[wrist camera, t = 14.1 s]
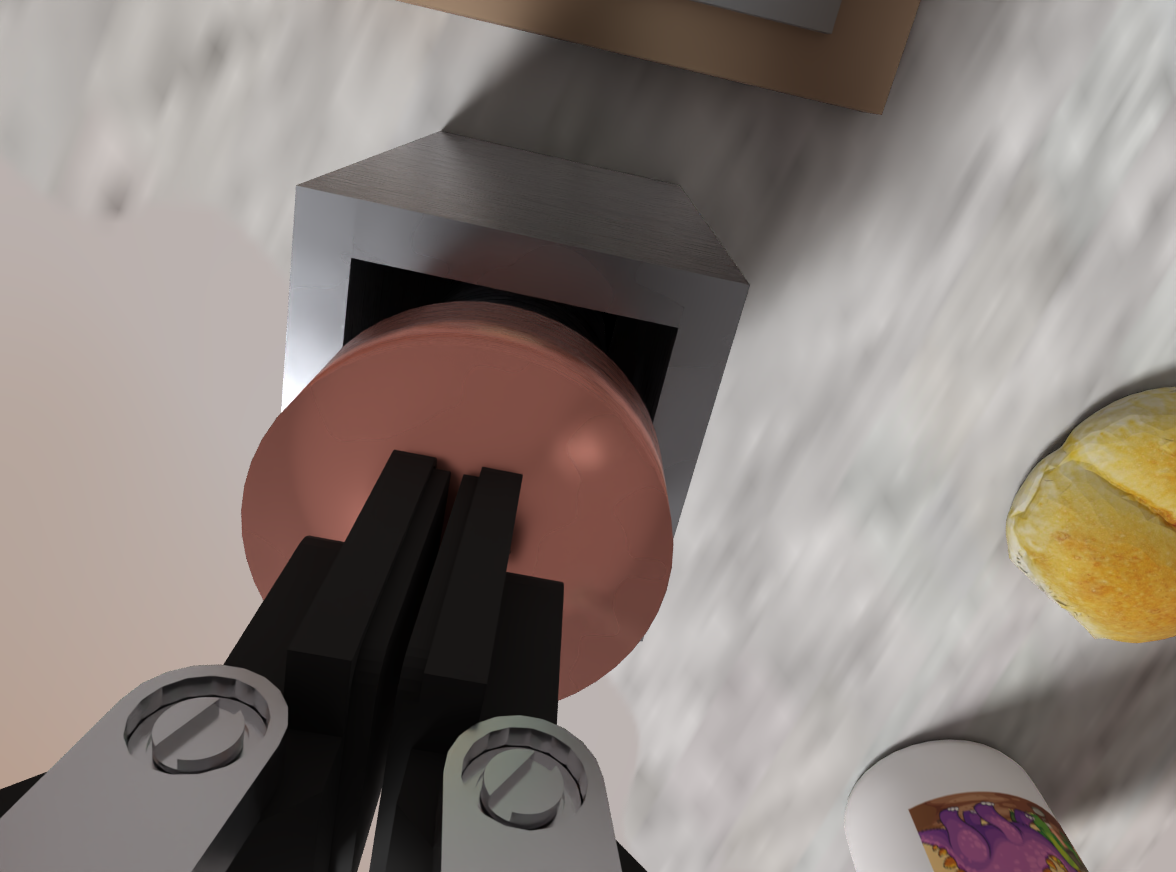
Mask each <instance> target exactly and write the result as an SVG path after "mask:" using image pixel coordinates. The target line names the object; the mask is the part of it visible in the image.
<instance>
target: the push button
mask: <svg viewBox="0 0 1176 872" xmlns="http://www.w3.org/2000/svg"><path fill="white" fill-rule="evenodd" d="M393 450H400V451H405V452H410V453H415V454H420V455H425V456H431V457H436V458H437V468H436V469H440V470H445V471H450V472H451V477H450V485H449V491H448V497H447V503H446V509H445V515H444V521H443V527H442V533H441V539H440V545H441V542H442V539H443V536H444V533H445V530H446V527H447V524H448V520H449V517H450V514H451V511H452V508H453V505H454V502H455V499H456V496H457V493H458V490H459V486H460V483H461V480H462V477H463V474H466V475H471V476H476V477H479V476H480V472H481V469H482V467H487V468H492V469H498V470H503V471H508V472H513V473H518V474H523V478H522V484H521V490H520V496H519V501H518V507H517V513H516V519H515V524H514V530H513V536H512V542H511V547H510V553H509V559H508V565H507V571H506V572H511V573H517V574H522V575H527V576H533V577H538V578H544V579H549V580H555V581H560V582H563V583H564V601H563V619H562V638H561V656H560V674H559V693H558V701H559V700H561V699H564V698H566V697H568V696H570V695H573V694H575V693H577V692H579V691H581V690H582V689H584V688H586V687H587V686H589V685H591V684H593V683H594V682H596V681H597V680H599V679H600V678H602V677H603V676H604V675H606V674H607V673H608V672H610V671H611V670H612V669H614V668H615V667H616V666H617V665H618V664H619V663H620V662H621V661H622V660H623V659H624V658H625V657H626V656H627V655H628V654H629V653H630V652H631V651H632V650H633V649H634V648H635V646H636V645H637V644H638V643H639V641H640V640H641V639H642V637H643V636H644V635H645V634H646V632H647V631H648V629H649V627H650V625H651V624H652V622H653V620H654V618H655V617H656V615H657V613H658V611H659V608H660V606H661V603H662V601H663V598H664V596H665V593H666V590H667V586H668V582H669V577H670V573H671V568H672V556H673V533H672V521H671V514H670V508H669V502H668V495H667V489H666V483H665V477H664V471H663V464H662V458H661V452H660V448H659V444H658V439H657V435H656V431H655V428H654V425H653V423H652V420H651V418H650V415H649V413H648V410H647V408H646V406H645V405H644V403H643V401H642V399H641V397H640V396H639V394H638V392H637V390H636V389H635V387H634V386H633V385H632V383H631V382H630V381H629V379H628V378H627V377H626V375H625V374H624V373H623V372H622V370H621V369H620V368H619V367H618V366H617V365H616V364H615V363H614V362H613V361H612V360H611V359H610V358H609V357H608V356H607V355H606V333H605V326H604V322H603V318H602V314H601V312H600V311H598V310H593V309H588V308H584V307H579V306H574V305H570V304H565V303H560V302H556V301H551V300H546V299H542V298H537V297H532V296H528V295H523V294H518V293H514V292H509V291H504V290H500V289H495V288H490V287H485V286H481V285H476V284H471V283H467V282H462V281H457V280H455V281H454V282H453V283H452V284H451V286H450V287H449V288H448V290H447V291H446V292H445V294H444V295H443V297H442V298H441V300H440V301H439V303H436V304H430V305H426V306H422V307H418V308H414V309H410V310H406V311H404V312H401V313H399V314H396V315H394V316H391V317H389V318H386V319H384V320H382V321H380V322H378V323H377V324H375V325H373V326H371V327H370V328H368V329H366V330H364V331H363V332H361V333H360V334H359V335H357V336H356V337H355V338H354V339H352V340H351V341H350V342H348V343H347V344H346V345H345V346H343V347H342V348H341V349H340V351H339V352H338V353H337V354H336V355H335V356H334V357H333V358H332V359H331V360H330V361H329V362H328V363H327V364H326V365H325V366H324V367H323V369H322V370H321V371H320V372H319V373H318V374H317V375H316V376H315V377H314V378H313V379H312V380H311V381H310V382H309V384H308V385H307V386H306V387H305V388H304V389H303V390H302V391H301V392H300V393H299V394H298V395H297V396H296V398H295V399H294V400H293V401H292V402H291V403H290V404H289V405H288V406H287V407H286V408H285V409H284V410H283V412H282V413H281V414H280V415H279V416H278V417H277V418H276V420H275V421H274V423H273V424H272V425H271V427H270V428H269V430H268V431H267V433H266V434H265V436H264V437H263V439H262V440H261V443H260V445H259V447H258V449H257V451H256V453H255V455H254V457H253V459H252V461H251V465H250V468H249V471H248V475H247V478H246V482H245V485H244V493H243V500H242V509H241V515H242V516H241V517H242V537H243V542H244V548H245V554H246V559H247V562H248V564H249V568H250V571H251V573H252V576H253V579H254V582H255V584H256V586H257V588H258V590H259V592H260V594H261V596H262V598H263V600H264V599H265V598H266V596H267V594H268V593H269V591H270V590H271V588H272V586H273V585H274V583H275V582H276V580H277V578H278V577H279V575H280V574H281V572H282V570H283V569H284V567H285V566H286V564H287V562H288V561H289V559H290V558H291V556H292V554H293V553H294V551H295V550H296V548H297V547H298V545H299V543H300V542H301V541H302V540H303V538H304V537H305V536H309V535H310V536H315V537H321V538H326V539H332V540H337V541H342V542H345V540H346V538H347V536H348V534H349V532H350V531H351V529H352V527H353V525H354V523H355V521H356V519H357V517H358V516H359V514H360V512H361V510H362V508H363V506H364V504H365V502H366V500H367V499H368V497H369V495H370V493H371V491H372V489H373V487H374V485H375V484H376V482H377V480H378V478H379V476H380V474H381V472H382V470H383V469H384V467H385V465H386V463H387V461H388V459H389V457H390V455H391V453H392V452H393ZM440 545H439V548H440Z"/></svg>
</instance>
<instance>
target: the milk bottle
mask: <svg viewBox="0 0 1176 872" xmlns="http://www.w3.org/2000/svg"><path fill="white" fill-rule="evenodd" d="M844 830H845V835H846V838H847V842H848V846H849V849H850V853H851V856H852V860H853V863H854V866H855V869H856V872H1088V870H1087V868H1086V867H1085V865H1084V863H1083V862H1082V860H1081V859H1080V857H1079V855H1078V854H1077V852H1076V850H1075V849H1074V847H1073V845H1072V844H1071V842H1070V841H1069V839H1068V837H1067V836H1066V834H1065V832H1064V831H1063V829H1062V827H1061V826H1060V824H1059V823H1058V821H1057V819H1056V818H1055V816H1054V814H1053V813H1052V811H1051V810H1050V808H1049V806H1048V805H1047V803H1046V801H1045V800H1044V798H1043V797H1042V795H1041V793H1040V792H1039V790H1038V789H1037V787H1036V786H1035V784H1034V783H1033V781H1032V780H1031V778H1030V777H1029V775H1028V774H1027V773H1026V771H1025V770H1024V769H1023V768H1022V767H1021V766H1020V765H1019V764H1018V763H1016V762H1015V761H1014V760H1012V759H1011V758H1009V757H1008V756H1006V755H1005V754H1003V753H1002V752H1000V751H999V750H996V749H994V748H991V747H989V746H987V745H984V744H981V743H975V742H971V741H967V740H951V739H947V740H937V741H928V742H924V743H920V744H915V745H911V746H909V747H906V748H904V749H901V750H898V751H896V752H893V753H892V754H890V755H889V756H887V757H885V758H883V759H881V760H880V761H878V762H877V763H876V764H875V765H873V766H872V767H871V768H870V769H868V770H867V771H866V772H865V773H864V774H863V776H862V777H861V778H860V779H859V780H858V781H857V782H856V784H855V786H854V788H853V790H852V791H851V793H850V795H849V798H848V802H847V806H846V810H845V816H844Z"/></svg>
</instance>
